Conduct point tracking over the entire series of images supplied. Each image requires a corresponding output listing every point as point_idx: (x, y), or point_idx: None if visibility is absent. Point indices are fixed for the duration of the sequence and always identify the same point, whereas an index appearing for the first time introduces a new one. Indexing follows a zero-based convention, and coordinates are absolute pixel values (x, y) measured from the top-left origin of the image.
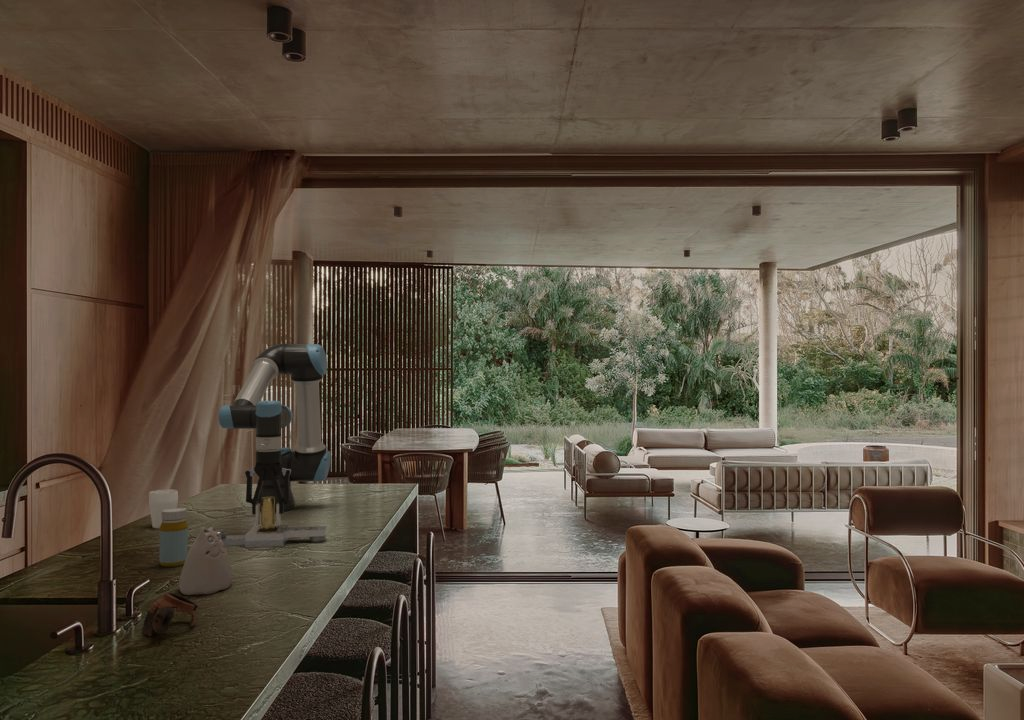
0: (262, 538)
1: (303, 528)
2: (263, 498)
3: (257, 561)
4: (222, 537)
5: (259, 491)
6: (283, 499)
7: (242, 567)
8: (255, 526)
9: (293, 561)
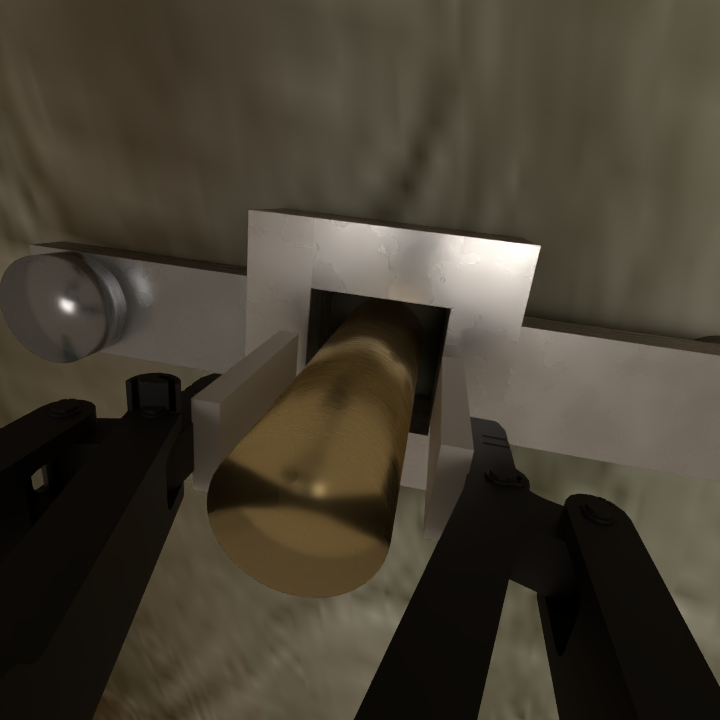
0: None
1: (645, 405)
2: (244, 556)
3: (363, 652)
4: (112, 341)
5: (129, 617)
6: (517, 577)
7: (316, 698)
8: (264, 222)
9: (514, 706)
